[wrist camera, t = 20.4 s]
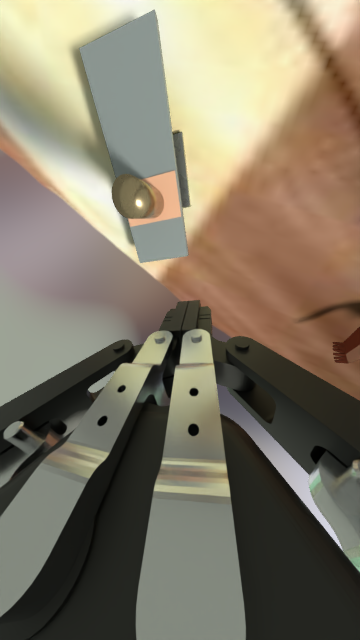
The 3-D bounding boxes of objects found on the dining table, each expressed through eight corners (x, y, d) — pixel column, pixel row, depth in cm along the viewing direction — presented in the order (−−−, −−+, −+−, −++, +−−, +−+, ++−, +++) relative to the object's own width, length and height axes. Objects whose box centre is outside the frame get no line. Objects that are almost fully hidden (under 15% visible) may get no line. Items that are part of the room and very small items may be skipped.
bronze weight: (135, 189, 27) (106, 178, 19) (160, 183, 26) (140, 169, 18) (142, 220, 29) (119, 221, 21) (166, 215, 28) (150, 215, 20)
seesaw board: (85, 56, 21) (78, 47, 20) (157, 20, 19) (154, 7, 18) (142, 261, 34) (139, 263, 33) (188, 254, 32) (187, 256, 31)
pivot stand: (118, 154, 29) (105, 145, 26) (182, 134, 27) (178, 120, 23) (135, 218, 35) (126, 218, 31) (190, 206, 32) (187, 205, 28)
